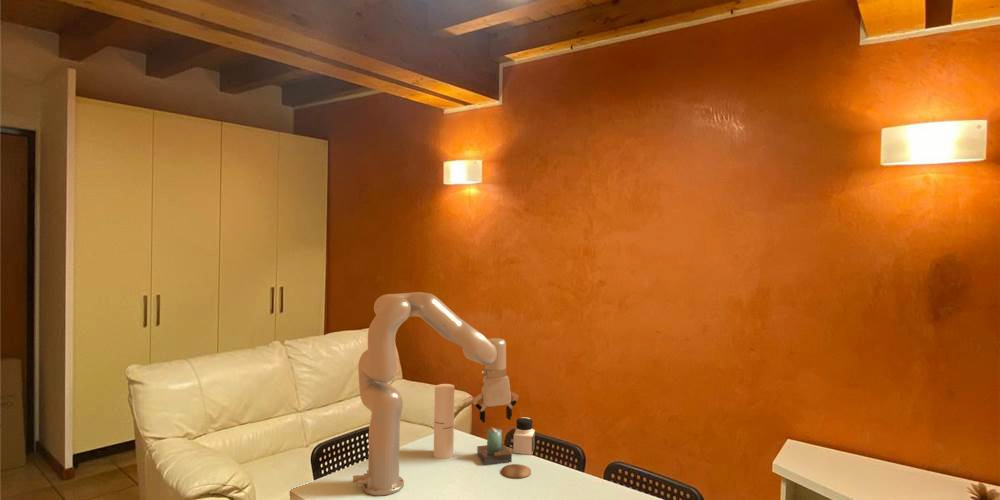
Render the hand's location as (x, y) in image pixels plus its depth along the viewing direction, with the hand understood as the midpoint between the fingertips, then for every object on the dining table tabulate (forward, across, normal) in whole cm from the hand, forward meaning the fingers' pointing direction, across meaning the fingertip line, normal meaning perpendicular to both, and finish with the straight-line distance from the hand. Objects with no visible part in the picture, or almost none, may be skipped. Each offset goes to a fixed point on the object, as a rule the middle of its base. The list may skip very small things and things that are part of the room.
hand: (495, 420), depth 182 cm
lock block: (+14, -1, 0) cm, 14 cm away
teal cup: (+11, -1, 0) cm, 11 cm away
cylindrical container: (+14, -18, +8) cm, 24 cm away
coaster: (+14, +3, -13) cm, 19 cm away
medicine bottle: (+14, +12, +4) cm, 19 cm away
